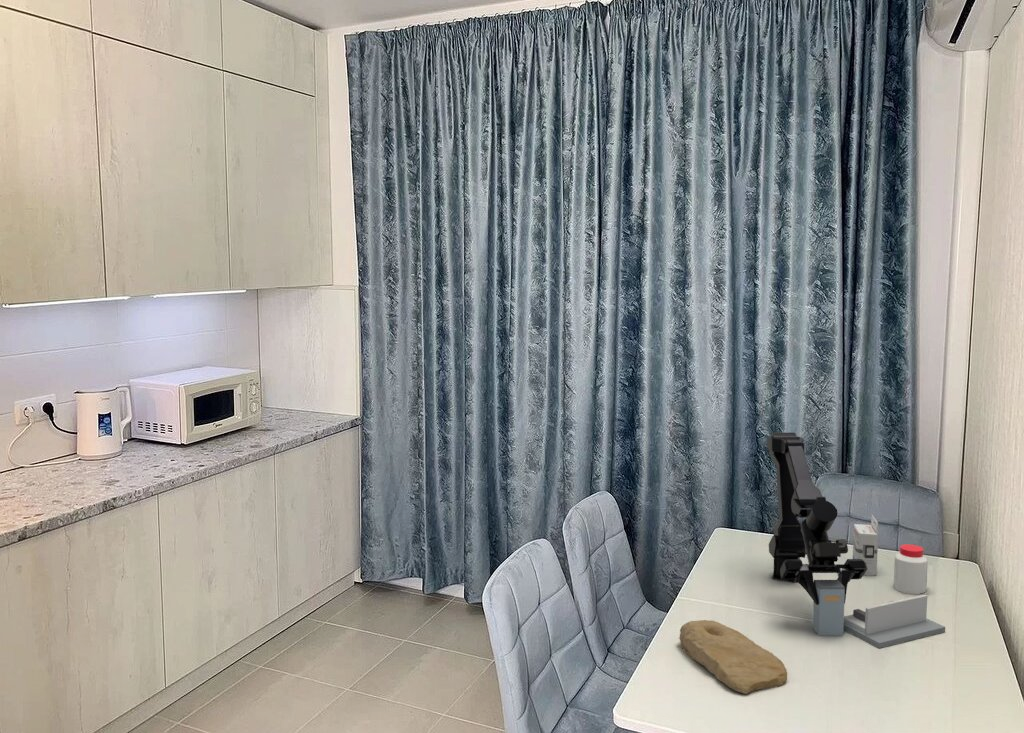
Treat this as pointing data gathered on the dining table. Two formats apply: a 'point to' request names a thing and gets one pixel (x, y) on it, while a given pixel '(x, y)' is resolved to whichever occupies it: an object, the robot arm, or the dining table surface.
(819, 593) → the block
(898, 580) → the pill bottle
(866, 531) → the ink box
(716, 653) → the stone
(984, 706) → the dining table surface
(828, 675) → the dining table surface
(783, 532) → the robot arm
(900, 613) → the grey holder stand
